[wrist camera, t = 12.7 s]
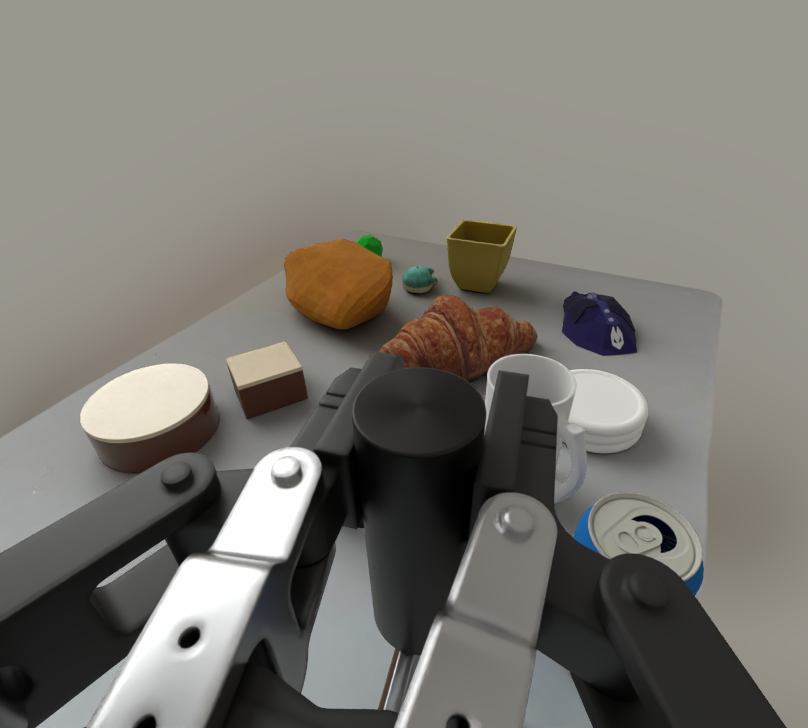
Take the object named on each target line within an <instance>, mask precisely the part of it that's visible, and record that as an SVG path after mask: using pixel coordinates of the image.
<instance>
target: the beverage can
mask: <svg viewBox="0 0 808 728" xmlns="http://www.w3.org/2000/svg"><path fill="white" fill-rule="evenodd" d="M574 539H575V540H576V541H578V542H579V543H581V544H582V545H584V546H586V547H587V548H589V549H591V550H593V551H595V552H597V553H599V554H601V555H603V556H605V557H606V558H608V559H611V558H613V557H615V556H617V555H621V554H627V553H634V554H641V555H646V556H648V557H651V558H654V559H656V560H658V561H660V562H662V563H663V564H665V565H667V566H668V567H670V568H671V569H672V570H673V571H675V572H676V573H677V574H678V575H679V576H680V577H681V578H682V579H683V581H684V582H685V583H686V584H687V586H688V587H689V589H690V590H691V592H692V593H693V594H694V596H695V595H696V593H697V592H698V590H699V588H700V586H701V584H702V580H703V571H704V569H703V561H702V554H703V553H702V546H701V542H700V540H699V537H698V535H697V533H696V532H695V530H694V528H693V527H692V526H691V524H690V523H689V522H688V521H687V520H686V519H685V518H684V517H683V516H682V515H681V514H680V513H679V512H677V511H676V510H675V509H673V508H672V507H670V506H669V505H667V504H666V503H664V502H662V501H660V500H658V499H655V498H653V497H650V496H647V495H643V494H639V493H632V492H619V493H613V494H609V495H607V496H605V497H603V498H601V499H600V500H599V501H597V502H596V503H595V505H593V506H592V507H590V508H589V509H588V510H587V511H585V513H584V514H583V515H582V516H581V518H580V520H579V522H578V525H577V528H576V532H575V535H574Z"/></svg>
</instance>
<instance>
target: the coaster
mask: <svg viewBox="0 0 808 728" xmlns="http://www.w3.org/2000/svg"><path fill="white" fill-rule="evenodd" d="M570 372H571V373H572V374H573V376H574V377H575V380H576V384H577V388H576V392H575V395H574V400H573V404H572V408H571V412H570V415H569V419H568V422H569V423H571V422H574V423H576V424H577V425H579V426H580V427H582V428H583V429H585V433H584V440H585V447H586V451H587V452H593V453H615V452H620V451H623V450H626V449H628V448H630V447H631V446H633V445H634V444H635V443H636V442H637V441H638V440H639V438H640V437H641V434H642V430H643V428H644V426H645V422H646V420H647V418H648V404H647V401H646V399H645V398H644V396H643V395H642V393H641V392H640V391H639V390H638V389H637V388H636V387H635V386H633V385H632V384H631V383H629V382H628V381H626V380H624V379H622V378H620V377H618V376H616V375H613V374H610V373H607V372H603V371H598V370H591V369H577V370H570ZM562 442H564V443H565V441H564V440H563V441H562Z"/></svg>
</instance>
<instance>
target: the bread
mask: <svg viewBox="0 0 808 728" xmlns="http://www.w3.org/2000/svg"><path fill="white" fill-rule="evenodd" d="M284 267H285V273H286V295H287V298H288V300H289V302H290V303H291V304H292V306H293V307H295V308H296V309H297V310H298V311H299V312H300V313H302V314H303V315H304V316H306V317H307V318H309V319H311V320H313V321H315V322H317V323H320V324H323V325H326V326H329V327H332V328H337V329H350V328H352V327H354V326H356V325H359V324H361V323H364V322H366V321H368V320H370V319H372V318H374V317H375V316H377V315H378V314H380V313H381V312H382V311H383V310H384V309H385V307H386V306H387V303H388V301H389V297H390V293H391V288H392V278H393V276H392V267H391V264H390V261H388V260H387V259H385V258H383V257H381V256H379V255H377V254H375V253H373V252H371V251H369V250H368V249H366V248H364V247H362V246H361V245H359V244H357V243H355V242H353V241H349V240H346V239H339V240H332V241H328V242H323V243H318V244H315V245H313V246H310V247H303V248H300V249H297V250H295V251H293V252H291V253H290V254H289V255H288V256H287V257H286V258H285V263H284Z"/></svg>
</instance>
